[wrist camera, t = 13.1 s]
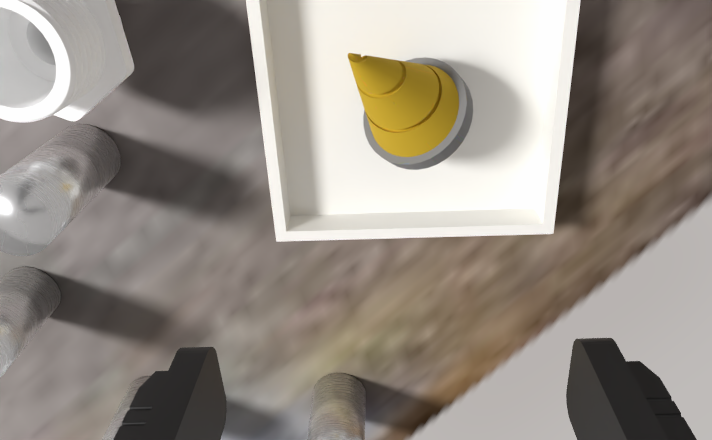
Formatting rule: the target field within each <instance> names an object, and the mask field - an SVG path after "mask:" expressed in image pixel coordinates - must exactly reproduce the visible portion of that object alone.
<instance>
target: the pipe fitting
mask: <svg viewBox="0 0 712 440" xmlns="http://www.w3.org/2000/svg"><path fill="white" fill-rule="evenodd" d="M133 71H134V62H133V59H132V56H131V53H130V49H129V46H128V43H127V39H126V36H125V33H124V30H123V26H122V21H121V18H120V15H119V13H118V10H117V7H116V4H115V0H0V118H1V119H4V120H8V121H12V122H34V121H38V120H41V119H44V118H47V117H50V116H52V115H55V116H58V117H61V118H63V119H66V120H69V121H77V120H79V119H80V118H82V117H83V116H85V115H86V114H87V113H89V112H90V111H91V110H92V109H93V108H94V107H95V106H96V105H97V104H99V103H100V102H101V101H102V100H103V99H104V98H105V97H106V96H107V95H109V94H110V93H111V92H112V91H113V90H114V89H115V88H116V87H117V86H119V85H120V84H121V83H122V82H123V81H124V80H125V79H126V78H127V77H129V76H130V75H131V74H132V72H133Z"/></svg>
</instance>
